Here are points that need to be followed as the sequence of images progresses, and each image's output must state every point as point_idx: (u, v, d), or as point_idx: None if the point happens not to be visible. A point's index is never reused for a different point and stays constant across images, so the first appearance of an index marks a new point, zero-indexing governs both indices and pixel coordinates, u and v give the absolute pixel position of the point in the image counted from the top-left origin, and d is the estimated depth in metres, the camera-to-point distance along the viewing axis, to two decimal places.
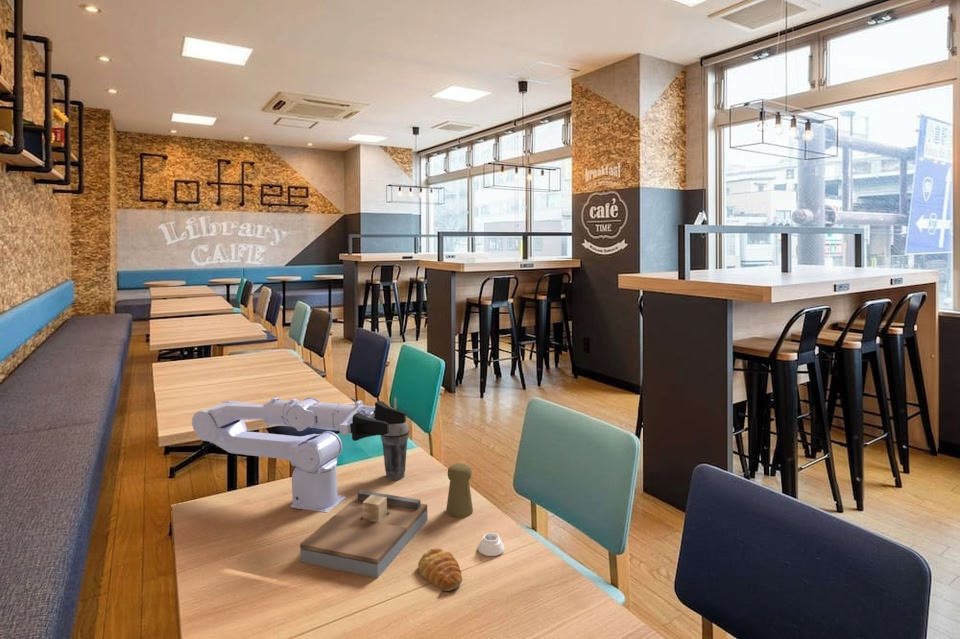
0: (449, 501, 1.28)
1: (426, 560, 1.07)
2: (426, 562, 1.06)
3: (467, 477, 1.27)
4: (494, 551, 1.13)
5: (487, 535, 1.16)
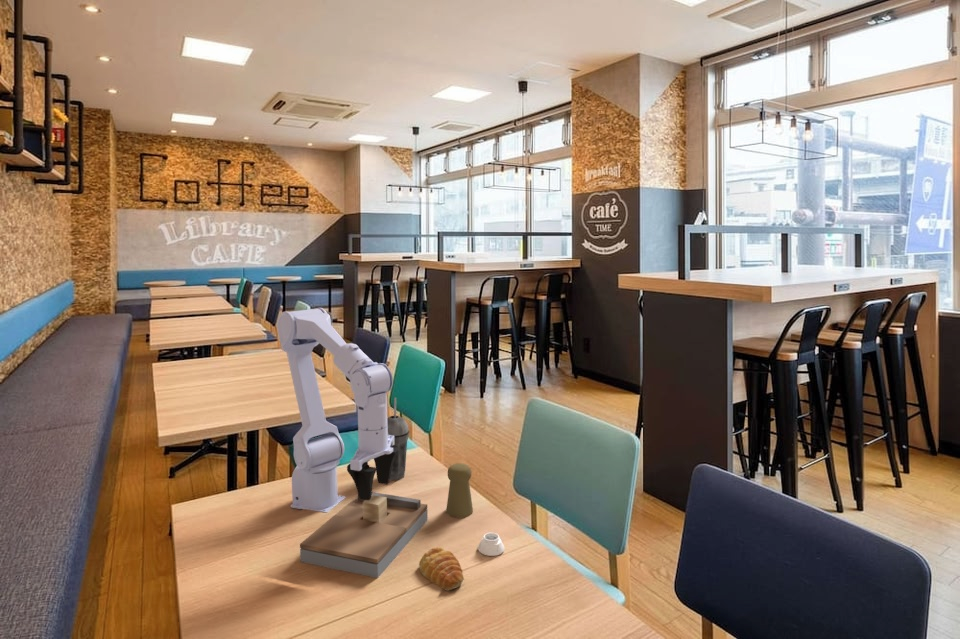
0: (449, 501, 1.28)
1: (427, 559, 1.07)
2: (427, 561, 1.06)
3: (467, 477, 1.27)
4: (494, 551, 1.13)
5: (487, 535, 1.16)
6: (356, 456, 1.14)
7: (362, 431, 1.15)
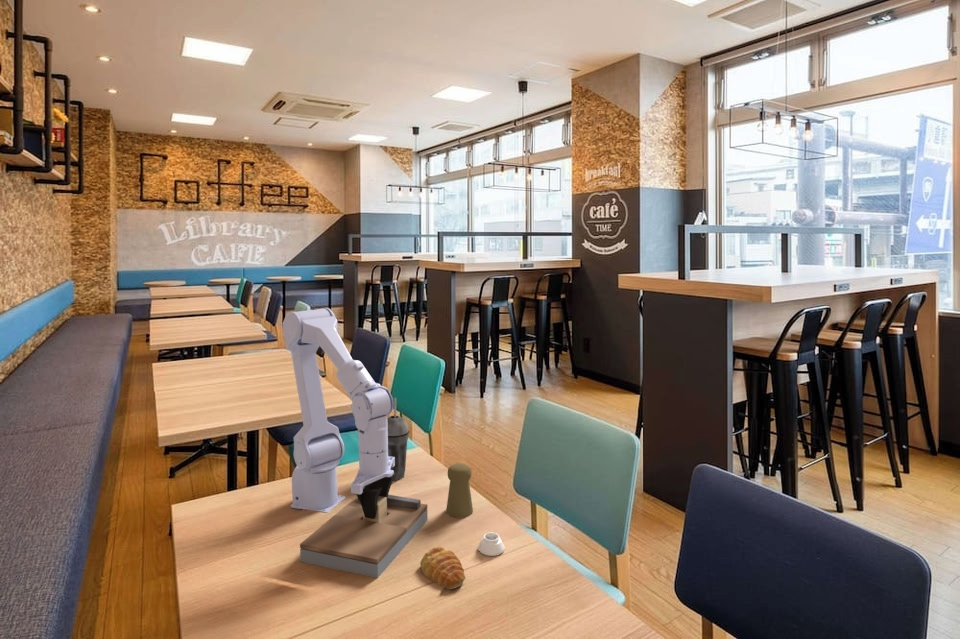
0: (449, 501, 1.28)
1: (428, 559, 1.07)
2: (428, 561, 1.06)
3: (467, 477, 1.27)
4: (494, 551, 1.13)
5: (487, 535, 1.16)
6: (357, 479, 1.14)
7: (363, 454, 1.16)
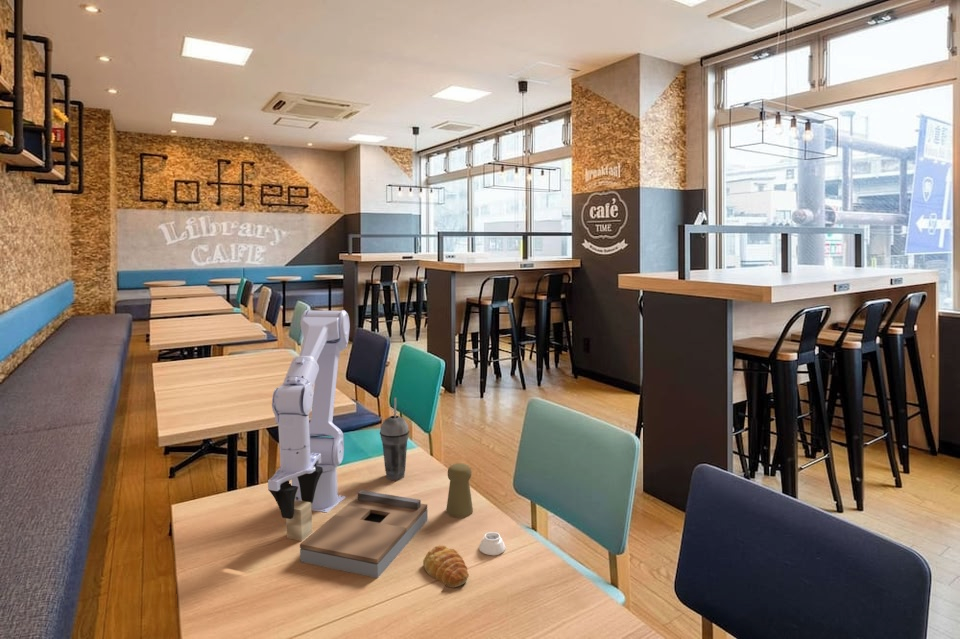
0: (449, 501, 1.28)
1: (431, 557, 1.07)
2: (432, 559, 1.07)
3: (467, 477, 1.27)
4: (495, 550, 1.13)
5: (488, 534, 1.16)
6: (275, 476, 1.13)
7: (282, 450, 1.14)
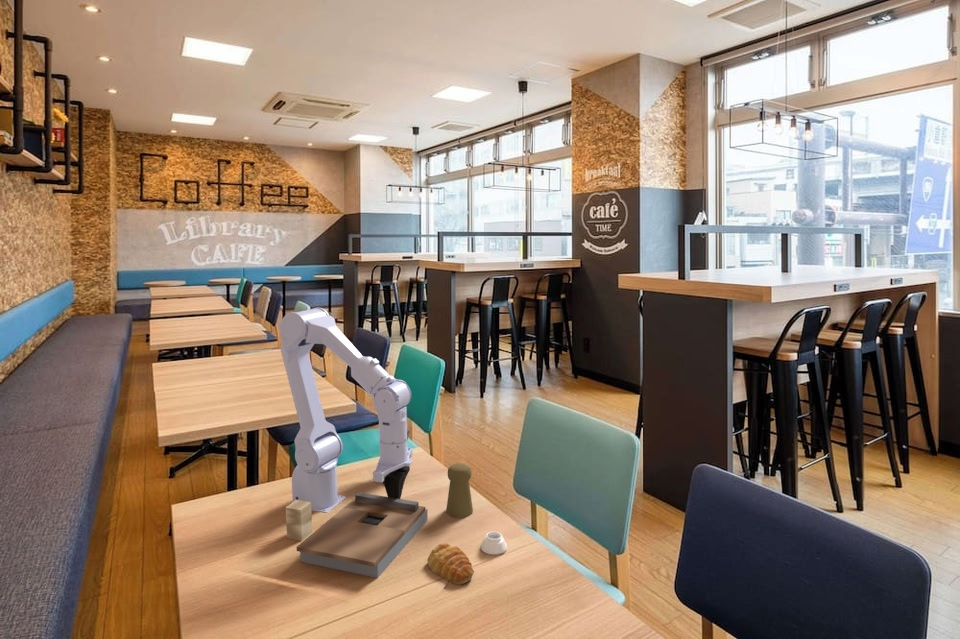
0: (449, 501, 1.28)
1: (436, 556, 1.08)
2: (436, 557, 1.08)
3: (467, 477, 1.27)
4: (497, 550, 1.13)
5: (490, 534, 1.16)
6: (378, 468, 1.20)
7: (383, 444, 1.22)
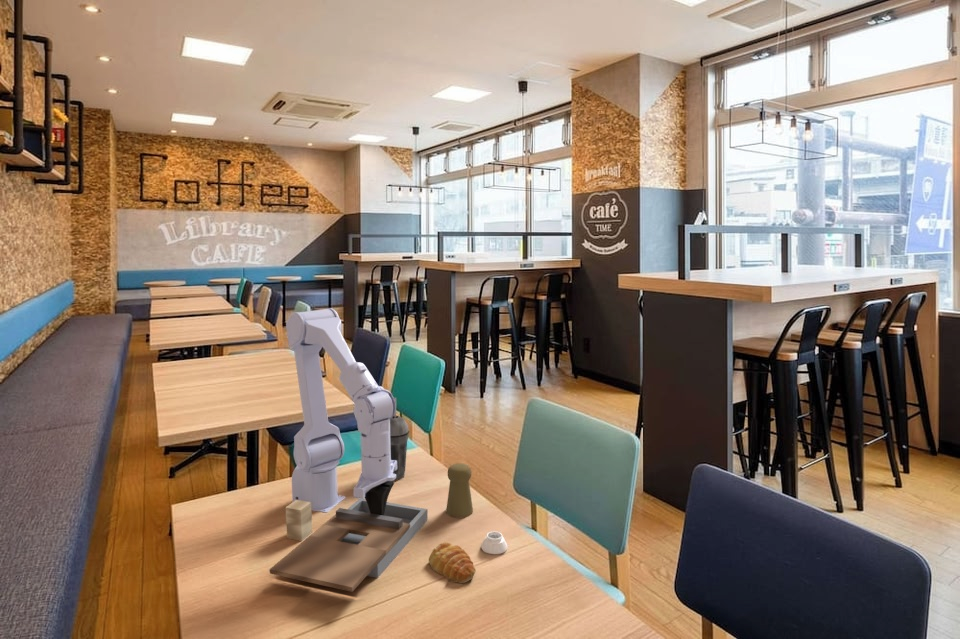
0: (449, 501, 1.28)
1: (437, 555, 1.08)
2: (438, 557, 1.08)
3: (467, 477, 1.27)
4: (497, 549, 1.13)
5: (490, 533, 1.16)
6: (359, 483, 1.13)
7: (365, 458, 1.15)
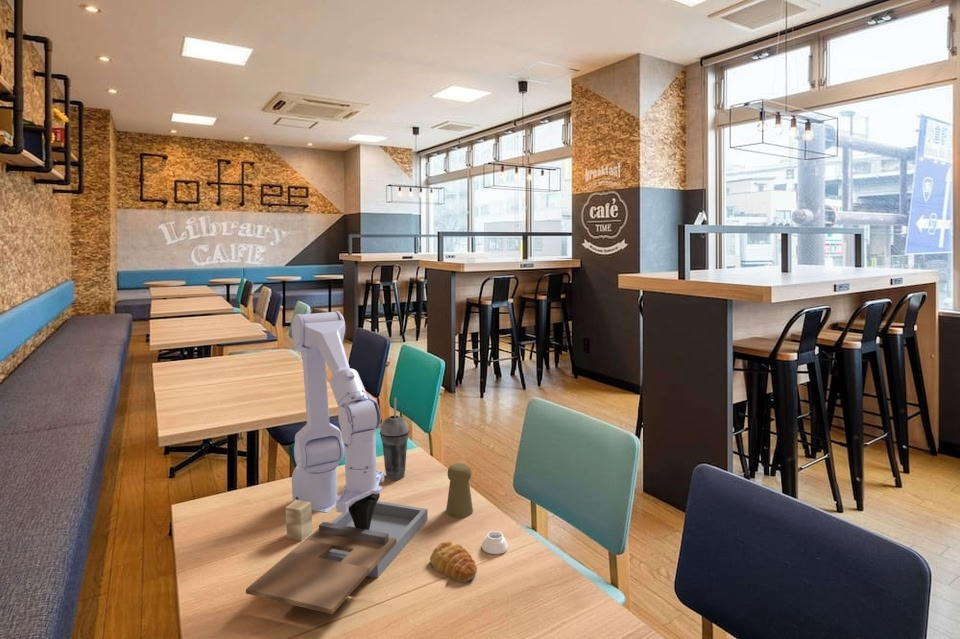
0: (449, 501, 1.28)
1: (439, 554, 1.09)
2: (439, 556, 1.08)
3: (467, 477, 1.27)
4: (498, 549, 1.13)
5: (491, 533, 1.17)
6: (343, 497, 1.08)
7: (349, 470, 1.09)
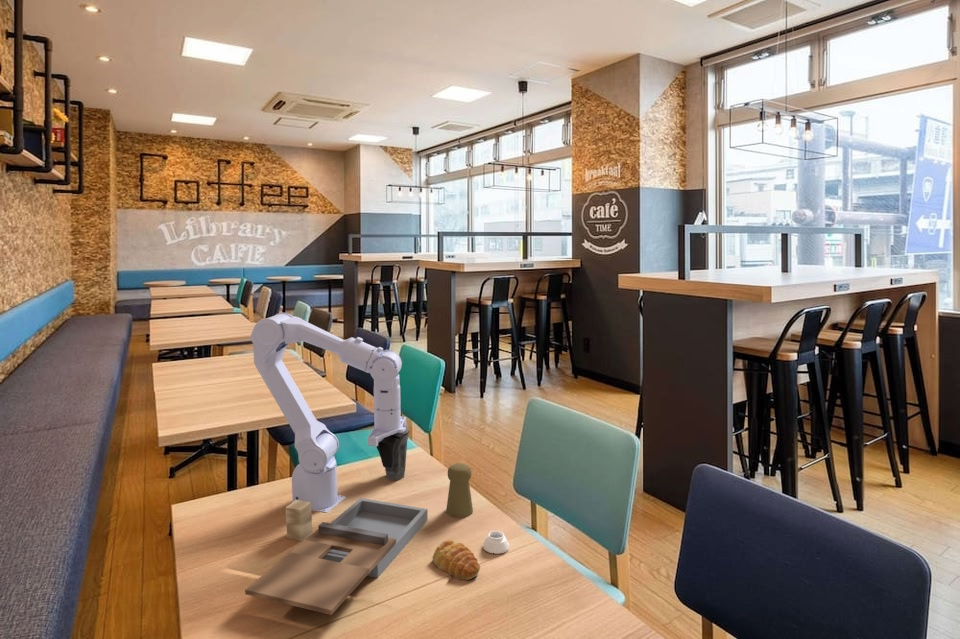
0: (449, 501, 1.28)
1: (441, 552, 1.09)
2: (442, 554, 1.09)
3: (467, 477, 1.27)
4: (499, 549, 1.14)
5: (492, 533, 1.17)
6: (372, 434, 1.26)
7: (378, 411, 1.27)
